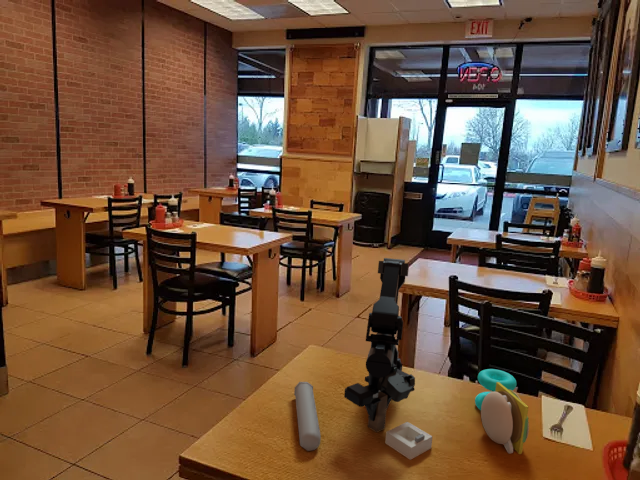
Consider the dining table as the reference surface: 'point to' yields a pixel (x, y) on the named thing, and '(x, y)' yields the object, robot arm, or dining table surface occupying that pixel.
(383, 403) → the dark brown wooden beam
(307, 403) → the tube
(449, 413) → the dining table surface
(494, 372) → the donuts
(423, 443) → the white square frame
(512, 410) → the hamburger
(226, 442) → the dining table surface
